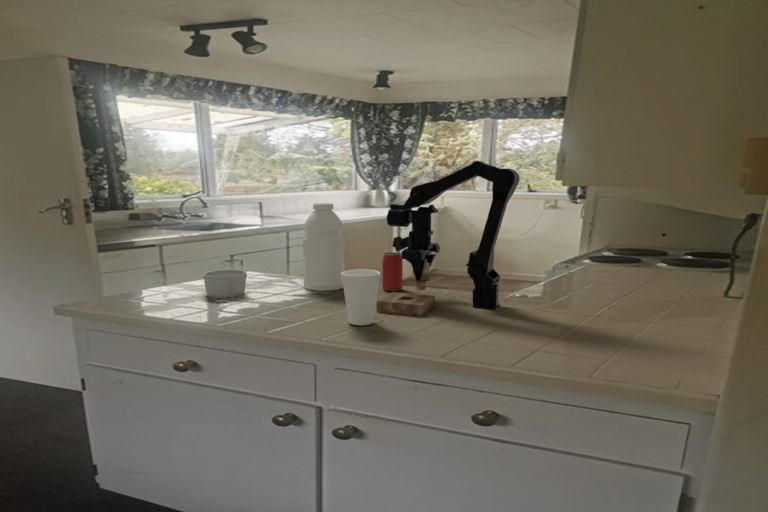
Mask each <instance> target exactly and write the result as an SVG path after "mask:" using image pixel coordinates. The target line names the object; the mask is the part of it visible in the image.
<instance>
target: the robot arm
mask: <svg viewBox="0 0 768 512" xmlns="http://www.w3.org/2000/svg"><path fill="white" fill-rule="evenodd" d="M518 173H519V172H517V171H516V170H515V169H513V168H505V167H504V168H501V167H498V166H497V167H496V166H494V165H491V164H488V163H485V161H481V160H475V161H472V162H471V163H470V164H468V165H466V166H464V167H462V168H460V169H458V170H455V171H454V172H451V173H449V174H447V175H445V176H443V177H442V178H439V179H437V180H434V181H429V182H426V183H421V184H417V185H414V186H413V187H412V188H411V189H410V192H409V196H408V197H407V199H406V200H405V202H404V203H403V204H398V203H390V204H389V209H388V211H387V214H386V224H387V225H388V226H389V227H399V228H401V227H402V228H408V227H409V226H410V225H411V231H409V232H408V236H405V237H401V236H400V235H399V236H396V237H394V238H393V241H392V245H391V246H392V248H394V249H395V252H399V251H401V250H402V251H401V253H400V254H401V259H402V260H405V261H406V262H407V261H408V263H410V264H411V268H412V272H413V271H414V275H415V278H416V281H420V279H421V277H422V274H423V271H424V268H425V265H426V262H428V263H429V270H430V269H431V267H432V264H433V263H434V260H435V259H436V257H437V254H438V253H441V252H440V249H441V248H440V244H439V243H438V242H432V235H434V230H432V214H435V213H438V212H439V209H438V208H436V207H435V205H434V204H431V203H432V202H433V201H435V200H436V199H438V198H439V197H440V196H441V195H442V194H444V193H445V192H447V191H449V190H452V189H453V188H456V187H458V186H460V185H462V184H464V183H465V184H466V183H467V182H468V181H471V180H473V179H476V178H478V177H480V178H482V179H484V180H487V181H488V182H491V183H492V186H491V187H492V190H491V191H492V192H491V193H492V201H491V204H490V207H489V209H488V210H489V211H488V214H487V219H486V221H485V224H484V228H483V231H482V235H481V239H480V242H479V245H478V248H477V249H476V250H473V251H471V252H470V253H469V257H468V262H467V263H466V265H465V267H467V274H468V275H469V278H470V279H472V281H473V282H472V283H473V285H474V288H473V290H472V301H471V303H472V307H473V308H482V309H483V308H484V309H493V310H495V309H497V307H498V306H499V305H500V302H499V284H497V283H499V281H500V279H501V275H500V274H499V273H498V272H497V271H496V270H495V269H494V261H495V253H494V252H495V247H496V243H497V239H498V236H499V232H500V230H501V226H502V223H503V220H504V216H505V214H506V210H507V206H508V203H509V201H510V199H511V198H512V196H513V195H514V193H515V192H516V189H517V188H518V185H519V184H520V175H519V174H518ZM429 204H430V205H429ZM422 205H423V206H422ZM424 205H428V206H424ZM414 208H417V209H414ZM416 281H415V282H416Z"/></svg>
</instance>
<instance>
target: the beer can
mask: <svg viewBox="0 0 768 512" xmlns="http://www.w3.org/2000/svg"><path fill="white" fill-rule="evenodd" d="M403 261H404V259H401V253H400V252H384V253H383V257H382V263H381V265H382V269H381V270H382V271H381V273H382V274H381V275H382V277H381V279H382V283H381V284H382V285H381V287H382V290H383V291H385V292H391V293H392V292H400V291H402V290H403V265H404V264H403Z"/></svg>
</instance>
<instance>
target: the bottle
mask: <svg viewBox="0 0 768 512" xmlns="http://www.w3.org/2000/svg"><path fill="white" fill-rule="evenodd" d="M312 204H313V205H312V209H313V211H312V212H311V214H309V216H308V217H307V218H306V221H305V223H304V224H303V225H304V226H303V231H305V233H306V234H305V236H304V237H303V238H302V252H303V253H302V254H303V256H302V257H303V260H302V261H303V288H304V289H306V290H309V291H316V292H320V291H321V292H325V291H326V292H327V291H338V290H341V289H344V288H343V282H342V278H341V272H343V271H346V270H345V269H346V267H345V265H346V263H345V259H346V258H345V257H346V256H345V243H346V239H345V237H344V236H343V235H342V231H344V230H345V229H344V225H343V222H342V221H341V219H340V217H339V216H338V215H337V214H336V212H335V211H333V209H334V204H333V203H330V202H329V203H328V202H321V203H319V202H318V203H312Z"/></svg>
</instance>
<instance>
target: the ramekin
mask: <svg viewBox="0 0 768 512" xmlns="http://www.w3.org/2000/svg"><path fill="white" fill-rule="evenodd" d="M247 273H248V272H247V271H246V270H242V269H241V270H240V269H219V270H218V269H216V270H210V271H206V272H204V273H203V274H202V278H203V281H204V288H205V292H206V294H207V296H208V297H209V298H213V299H228V298H227V297H232V298H235V297H234V296H237V297H240V296H239V295H241V296H243V294H244V293H245V290H246V284H247V277H248V274H247Z"/></svg>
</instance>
